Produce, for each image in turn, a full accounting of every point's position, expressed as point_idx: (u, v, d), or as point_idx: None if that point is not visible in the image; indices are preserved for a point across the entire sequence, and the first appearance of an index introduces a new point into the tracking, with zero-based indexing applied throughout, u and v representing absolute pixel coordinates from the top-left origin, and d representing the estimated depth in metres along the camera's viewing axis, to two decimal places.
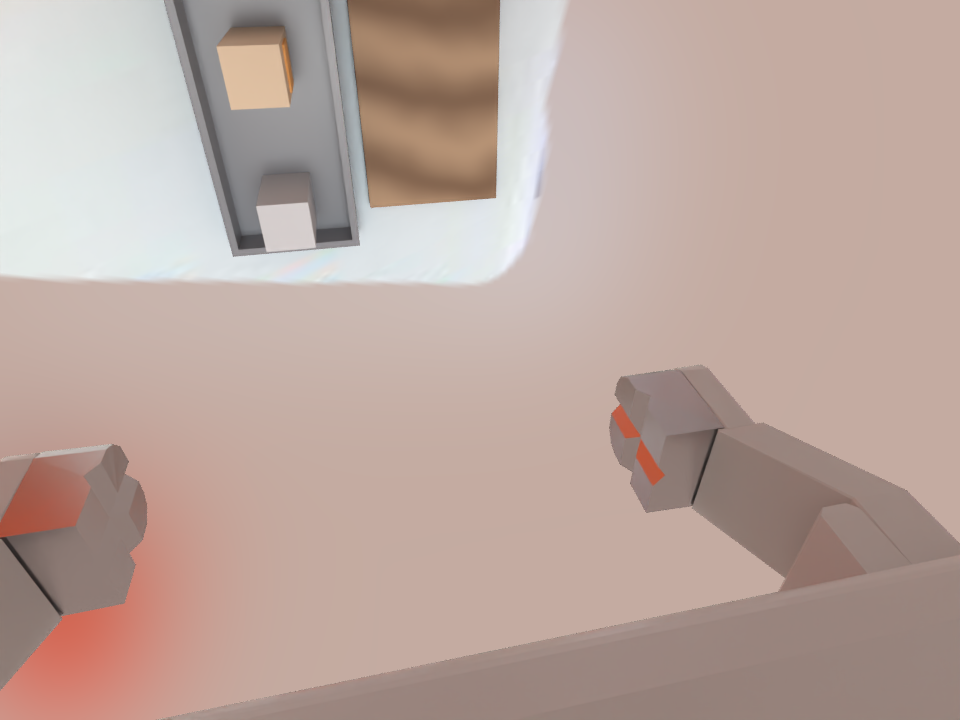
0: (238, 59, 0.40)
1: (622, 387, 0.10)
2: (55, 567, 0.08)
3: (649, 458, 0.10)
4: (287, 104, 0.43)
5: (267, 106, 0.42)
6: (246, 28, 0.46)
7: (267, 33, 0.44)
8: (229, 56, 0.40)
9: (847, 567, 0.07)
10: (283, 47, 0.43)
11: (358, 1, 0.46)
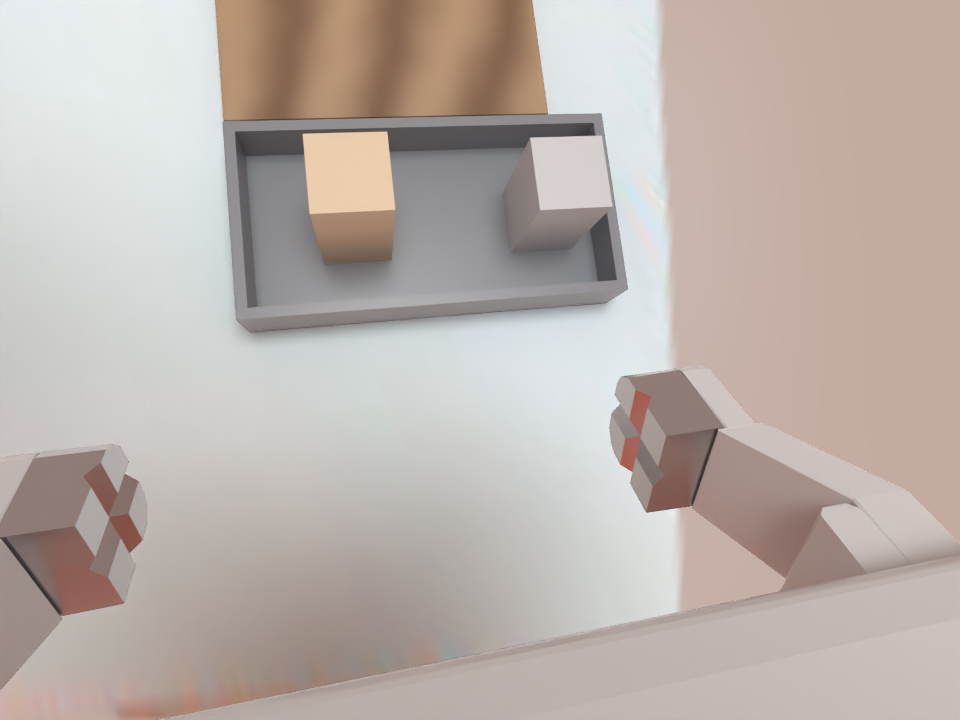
0: (325, 188, 0.28)
1: (622, 387, 0.10)
2: (55, 567, 0.08)
3: (649, 458, 0.10)
4: (383, 134, 0.29)
5: (387, 161, 0.29)
6: None
7: None
8: (321, 199, 0.28)
9: (847, 567, 0.07)
10: None
11: (282, 105, 0.36)
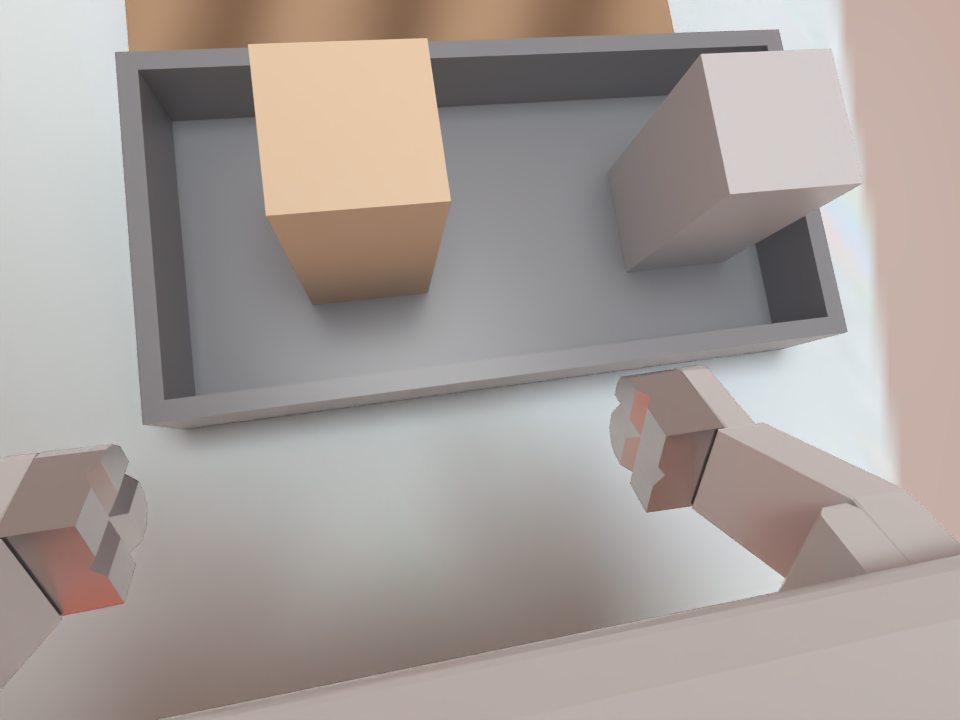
0: (299, 159, 0.13)
1: (622, 387, 0.10)
2: (55, 567, 0.08)
3: (649, 458, 0.10)
4: (420, 43, 0.14)
5: (431, 98, 0.14)
6: None
7: None
8: (291, 183, 0.13)
9: (847, 567, 0.07)
10: None
11: (232, 33, 0.21)
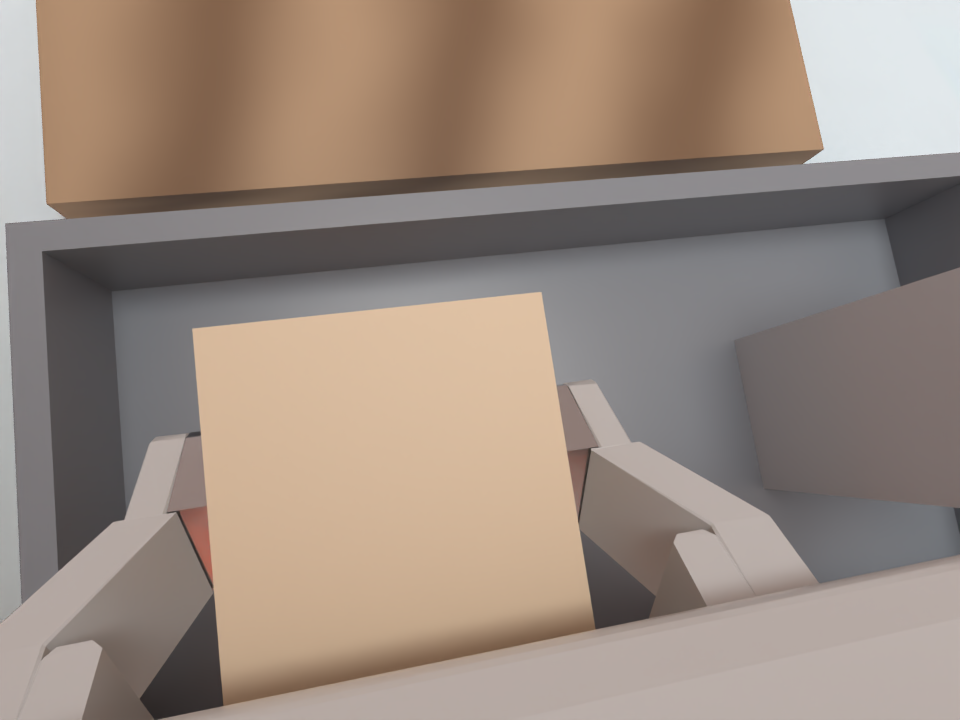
0: (294, 574, 0.06)
1: None
2: None
3: None
4: (528, 304, 0.07)
5: (552, 417, 0.07)
6: None
7: None
8: (277, 629, 0.06)
9: (693, 598, 0.07)
10: None
11: (201, 159, 0.14)
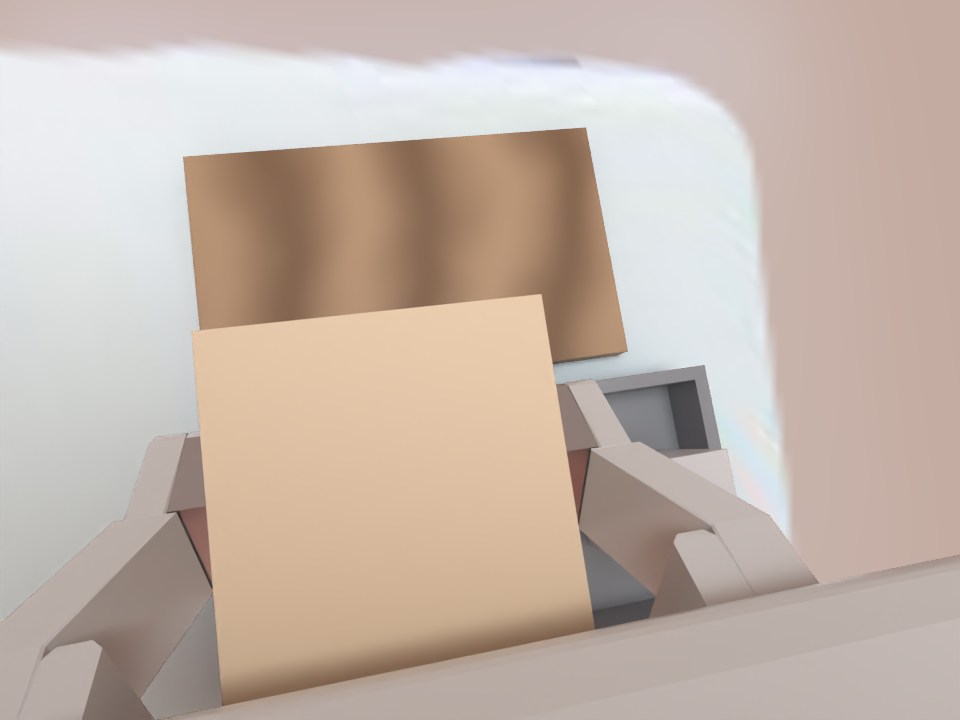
0: (294, 577, 0.06)
1: None
2: None
3: None
4: (528, 306, 0.07)
5: (552, 420, 0.07)
6: None
7: None
8: (277, 633, 0.06)
9: (693, 598, 0.07)
10: None
11: None
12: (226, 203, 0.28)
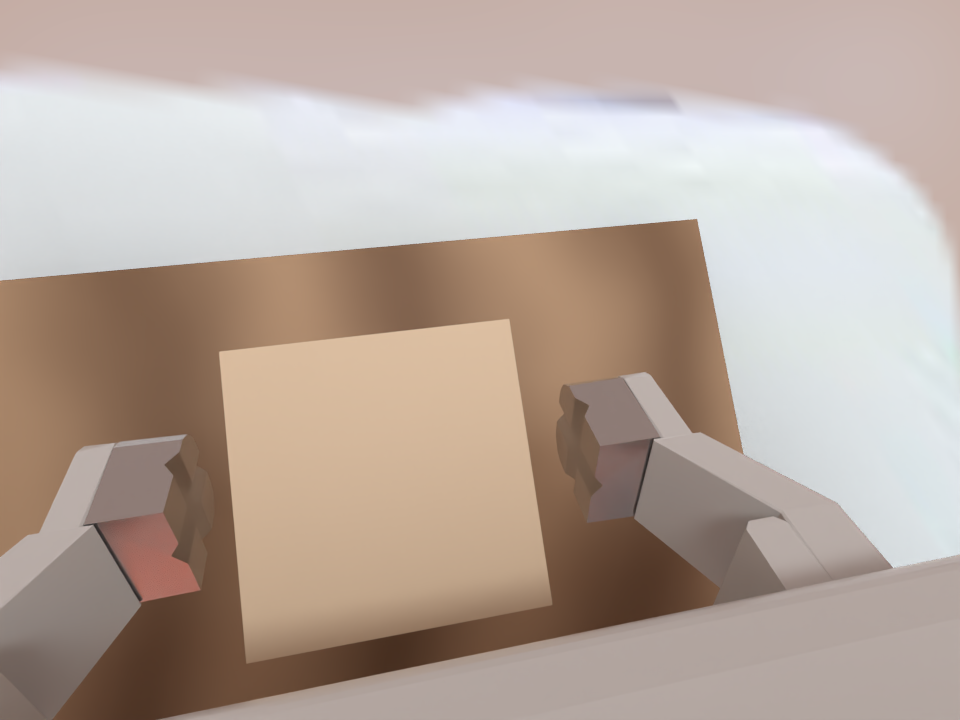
0: (303, 553, 0.08)
1: (564, 395, 0.10)
2: (140, 554, 0.08)
3: (589, 468, 0.10)
4: (498, 329, 0.09)
5: (517, 424, 0.08)
6: None
7: None
8: (289, 598, 0.08)
9: (769, 583, 0.07)
10: None
11: None
12: (45, 373, 0.15)
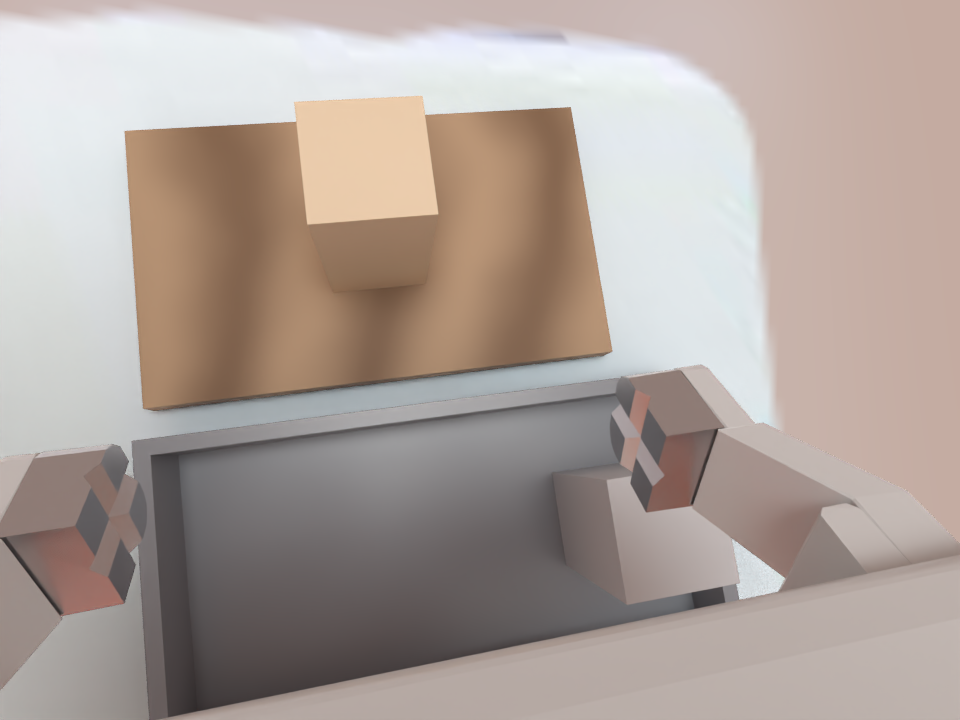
0: (330, 184, 0.18)
1: (622, 387, 0.10)
2: (55, 567, 0.08)
3: (649, 458, 0.10)
4: (417, 99, 0.19)
5: (424, 140, 0.19)
6: None
7: None
8: (325, 201, 0.18)
9: (847, 567, 0.07)
10: None
11: (229, 378, 0.25)
12: (171, 183, 0.26)
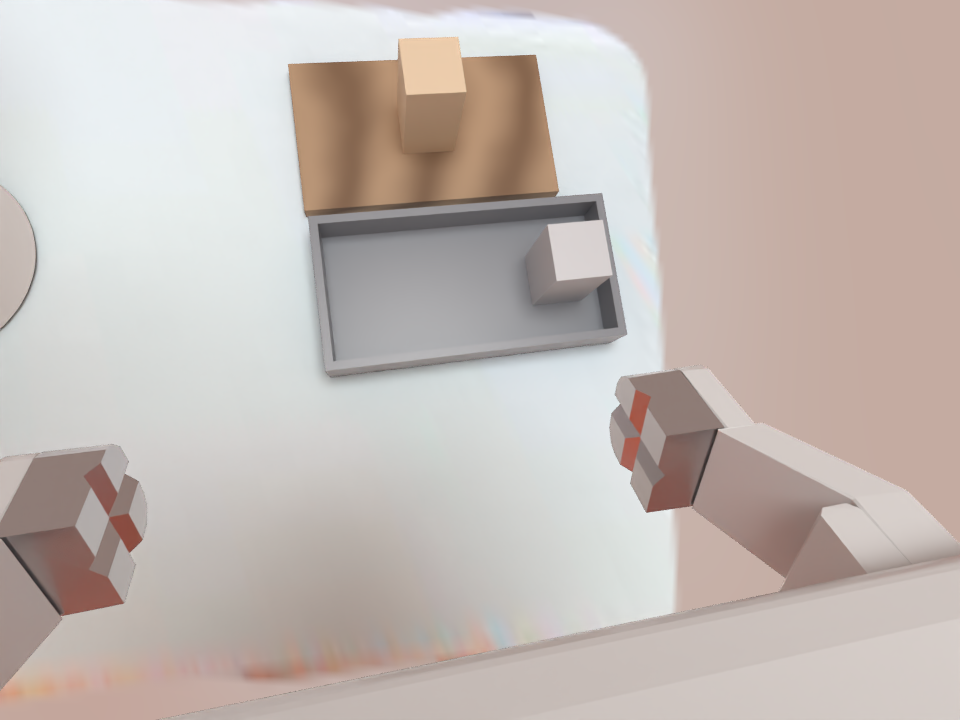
0: (416, 77, 0.39)
1: (622, 387, 0.10)
2: (55, 567, 0.08)
3: (649, 458, 0.10)
4: (455, 38, 0.40)
5: (459, 57, 0.40)
6: (401, 135, 0.47)
7: (399, 94, 0.44)
8: (413, 84, 0.39)
9: (847, 567, 0.07)
10: None
11: (349, 196, 0.46)
12: (314, 92, 0.47)
